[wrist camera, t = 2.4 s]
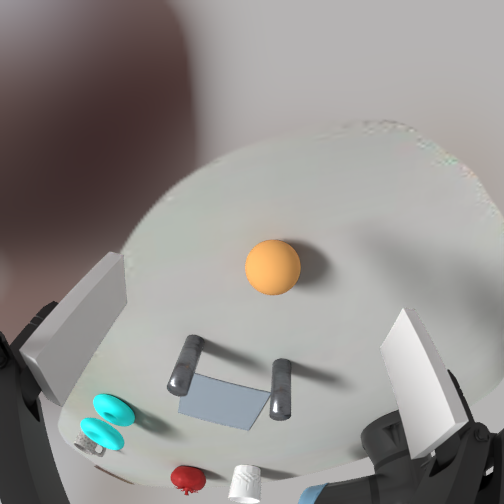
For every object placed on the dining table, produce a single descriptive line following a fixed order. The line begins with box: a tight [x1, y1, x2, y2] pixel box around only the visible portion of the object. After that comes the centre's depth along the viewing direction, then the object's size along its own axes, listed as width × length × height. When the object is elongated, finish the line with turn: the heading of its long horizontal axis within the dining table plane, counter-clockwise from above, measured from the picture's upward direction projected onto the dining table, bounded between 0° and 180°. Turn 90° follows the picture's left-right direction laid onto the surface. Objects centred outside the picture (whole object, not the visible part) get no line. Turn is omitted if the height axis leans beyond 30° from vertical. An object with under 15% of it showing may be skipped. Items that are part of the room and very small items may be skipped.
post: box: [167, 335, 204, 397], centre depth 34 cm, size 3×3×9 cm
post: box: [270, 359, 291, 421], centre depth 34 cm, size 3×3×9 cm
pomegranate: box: [171, 466, 206, 495], centre depth 57 cm, size 10×10×9 cm
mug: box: [74, 429, 106, 457], centre depth 59 cm, size 10×7×7 cm
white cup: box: [228, 465, 261, 503], centre depth 52 cm, size 8×8×10 cm
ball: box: [245, 240, 301, 295], centre depth 29 cm, size 6×6×6 cm
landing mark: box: [178, 373, 271, 430], centre depth 44 cm, size 14×14×1 cm
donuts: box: [81, 394, 135, 450], centre depth 45 cm, size 10×10×10 cm
